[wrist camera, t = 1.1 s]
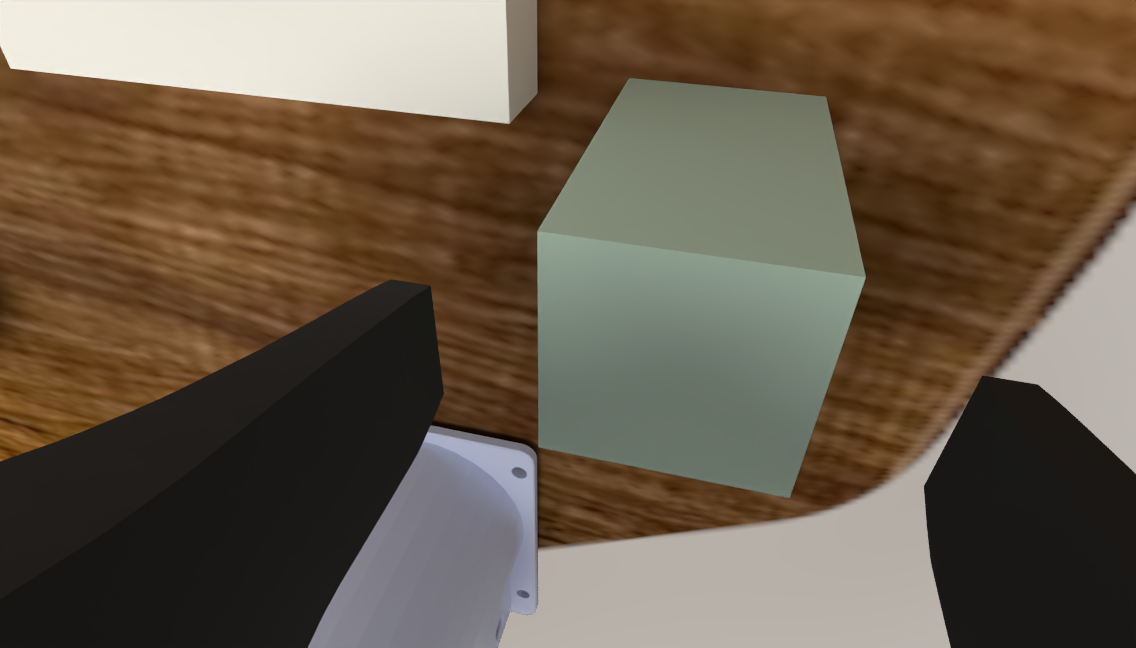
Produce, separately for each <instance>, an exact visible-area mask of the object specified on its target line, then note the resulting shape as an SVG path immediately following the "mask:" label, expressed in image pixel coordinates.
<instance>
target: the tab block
mask: <svg viewBox="0 0 1136 648" xmlns="http://www.w3.org/2000/svg"><path fill="white" fill-rule="evenodd" d="M537 258H538V442H539V447H540V448H545V449H549V450H554V451H559V452H564V453H569V454H574V455H579V456H584V457H589V458H594V459H599V460H604V461H609V462H614V463H619V464H624V465H628V466H633V467H638V468H643V469H648V470H653V471H658V472H663V473H668V474H673V475H678V476H683V477H688V478H693V479H698V480H703V481H707V482H712V483H717V484H722V485H727V486H732V487H737V488H742V489H747V490H752V491H757V492H762V493H767V494H772V495H777V496H782V497H786V498H790V496H791V493H792V490H793V487H794V484H795V481H796V478H797V475H798V472H799V470H800V467H801V464H802V461H803V458H804V455H805V452H806V449H807V446H808V444H809V441H810V438H811V435H812V432H813V429H814V426H815V423H816V420H817V417H818V415H819V412H820V409H821V406H822V403H823V400H824V397H825V394H826V391H827V388H828V386H829V383H830V380H831V377H832V374H833V371H834V368H835V365H836V362H837V360H838V357H839V354H840V351H841V348H842V345H843V342H844V339H845V336H846V333H847V331H848V328H849V325H850V322H851V319H852V316H853V313H854V310H855V307H856V305H857V302H858V299H859V296H860V293H861V290H862V287H863V284H864V281H865V278H866V276H865V271H864V267H863V262H862V258H861V253H860V249H859V244H858V240H857V235H856V230H855V226H854V221H853V217H852V212H851V208H850V203H849V199H848V194H847V190H846V185H845V180H844V176H843V171H842V167H841V162H840V158H839V153H838V149H837V144H836V140H835V135H834V130H833V126H832V121H831V117H830V112H829V108H828V103H827V99H826V97H824V96H813V95H803V94H792V93H781V92H771V91H760V90H750V89H739V88H729V87H718V86H708V85H697V84H686V83H676V82H665V81H655V80H644V79H634V78H629V79H628V81H627V82H626V84H625V86H624V87H623V89H622V91H621V92H620V94H619V96H618V97H617V99H616V101H615V102H614V104H613V106H612V107H611V109H610V111H609V112H608V114H607V116H606V117H605V119H604V121H603V122H602V124H601V126H600V127H599V129H598V131H597V132H596V134H595V136H594V137H593V139H592V141H591V142H590V144H589V146H588V147H587V149H586V151H585V152H584V154H583V156H582V158H581V159H580V161H579V163H578V164H577V166H576V168H575V169H574V171H573V173H572V174H571V176H570V178H569V179H568V181H567V183H566V184H565V186H564V188H563V189H562V191H561V193H560V194H559V196H558V198H557V199H556V201H555V203H554V204H553V206H552V208H551V209H550V211H549V213H548V214H547V216H546V218H545V219H544V221H543V223H542V224H541V226H540V228H539V229H538V231H537Z"/></svg>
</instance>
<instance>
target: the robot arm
mask: <svg viewBox="0 0 1136 648" xmlns="http://www.w3.org/2000/svg"><path fill="white" fill-rule="evenodd" d="M443 394H444V392H443V384H442V375H441V367H440V359H439V351H438V343H437V335H436V327H435V319H434V310H433V302H432V294H431V286H428V285H422V284H415V283H409V282H403V281H397V280H389V281H387V282H385V283H382V284H380V285H378V286H376V287H374V288H372V289H370V290H368V291H366V292H364V293H363V294H361V295H359V296H357V297H355V298H353V299H351V300H350V301H348V302H346V303H344V304H342V305H340V306H339V307H337V308H335V309H333V310H331V311H330V312H328V313H326V314H324V315H322V316H321V317H319V318H317V319H315V320H313V321H311V322H310V323H308V324H306V325H304V326H302V327H300V328H299V329H297V330H295V331H293V332H291V333H289V334H288V335H286V336H284V337H282V338H280V339H278V340H277V341H275V342H273V343H271V344H269V345H267V346H266V347H264V348H262V349H260V350H258V351H256V352H254V353H252V354H250V355H248V356H246V357H244V358H242V359H240V360H238V361H236V362H234V363H232V364H230V365H228V366H226V367H224V368H222V369H220V370H218V371H216V372H214V373H212V374H210V375H208V376H206V377H204V378H202V379H200V380H198V381H196V382H194V383H192V384H190V385H188V386H186V387H184V388H182V389H180V390H178V391H176V392H174V393H172V394H169V395H167V396H165V397H163V398H161V399H159V400H156V401H154V402H152V403H150V404H147V405H145V406H143V407H140V408H138V409H136V410H134V411H131V412H129V413H127V414H124V415H122V416H119V417H117V418H114V419H112V420H110V421H107V422H105V423H102V424H100V425H98V426H95V427H93V428H90V429H88V430H85V431H83V432H81V433H78V434H75V435H73V436H70V437H68V438H65V439H62V440H60V441H57V442H54V443H52V444H49V445H46V446H43V447H40V448H37V449H35V450H32V451H29V452H26V453H23V454H20V455H18V456H15V457H12V458H9V459H6V460H4V461H1V462H0V648H498V645H499V642H500V639H501V636H502V633H503V630H504V627H505V624H506V621H507V618H508V615H509V613H510V611H512V612H516V613H520V614H525V615H531V614H533V613H535V611H536V608H537V605H538V531H537V456H536V453H535V452H534V450H533V449H532V448H530V447H529V446H527V445H524V444H521V443H516V442H511V441H506V440H501V439H496V438H491V437H486V436H481V435H476V434H472V433H467V432H462V431H457V430H452V429H447V428H442V427H437V426H432V425H431V423H432V421H433V418H434V416H435V413H436V411H437V409H438V406H439V404H440V401H441V399H442V396H443ZM521 468H522V469H521ZM924 493H925V504H926V517H927V518H926V519H927V530H928V540H929V549H930V558H931V564H932V569H933V573H934V578H935V582H936V586H937V591H938V595H939V599H940V603H941V608H942V612H943V616H944V620H945V625H946V629H947V633H948V637H949V642H950V646H951V648H1136V474H1135V473H1134V472H1133V471H1132V470H1131V469H1130V468H1129V467H1128V466H1127V465H1126V464H1125V463H1124V462H1123V461H1121V460H1120V459H1119V458H1118V457H1117V456H1116V455H1115V454H1114V453H1113V452H1112V451H1111V450H1110V449H1109V448H1107V446H1105V445H1104V444H1103V443H1102V442H1101V441H1100V440H1099V439H1098V438H1097V437H1096V436H1095V435H1094V434H1093V433H1092V432H1091V431H1090V430H1088V429H1087V428H1086V427H1085V426H1084V425H1083V424H1082V423H1081V422H1080V421H1078V419H1077V418H1076V417H1074V416H1073V415H1072V414H1071V413H1070V412H1069V411H1068V410H1067V409H1066V408H1065V407H1063V406H1062V405H1061V404H1060V403H1059V402H1058V401H1057V400H1056V399H1054V398H1053V397H1052V396H1051V395H1050V394H1048V393H1047V392H1046V391H1045V390H1043V389H1042V388H1041V387H1040V386H1039V385H1036V384H1030V383H1024V382H1018V381H1012V380H1006V379H1000V378H994V377H988V376H982V377H981V379H980V381H979V383H978V385H977V387H976V389H975V391H974V393H973V394H972V396H971V398H970V400H969V402H968V404H967V406H966V408H965V410H964V411H963V413H962V415H961V417H960V419H959V421H958V423H957V425H956V427H955V429H954V430H953V432H952V434H951V436H950V438H949V440H948V442H947V444H946V446H945V447H944V449H943V451H942V453H941V455H940V457H939V459H938V461H937V463H936V465H935V466H934V468H933V470H932V472H931V474H930V476H929V478H928V480H927V482H926V483H925V485H924Z"/></svg>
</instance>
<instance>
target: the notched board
mask: <svg viewBox="0 0 1136 648" xmlns="http://www.w3.org/2000/svg"><path fill="white" fill-rule="evenodd" d="M0 46H1V49H2V51H3V53H4V55H5V57H6V59H7V61H8V64H9V66H10V68H12V69H21V70H30V71H39V72H48V73H57V74H66V75H75V76H84V77H93V78H102V79H111V80H120V81H129V82H138V83H147V84H156V85H165V86H174V87H183V88H192V89H201V90H210V91H219V92H228V93H237V94H246V95H255V96H264V97H273V98H282V99H291V100H300V101H309V102H318V103H327V104H336V105H345V106H354V107H363V108H372V109H381V110H390V111H399V112H408V113H417V114H426V115H435V116H444V117H453V118H462V119H471V120H480V121H489V122H498V123H507V124H510V123H511V122H512V120H513V119H514V118H515V117H516V116H517V115H518V114H519V113H520V112H521V111H522V110H523V109H524V108H525V106H526V105H527V104H528V103H529V102H530V101H531V100H532V99H533V98H534V97H535V96H536V95H537V93H538V90H537V0H0Z"/></svg>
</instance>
